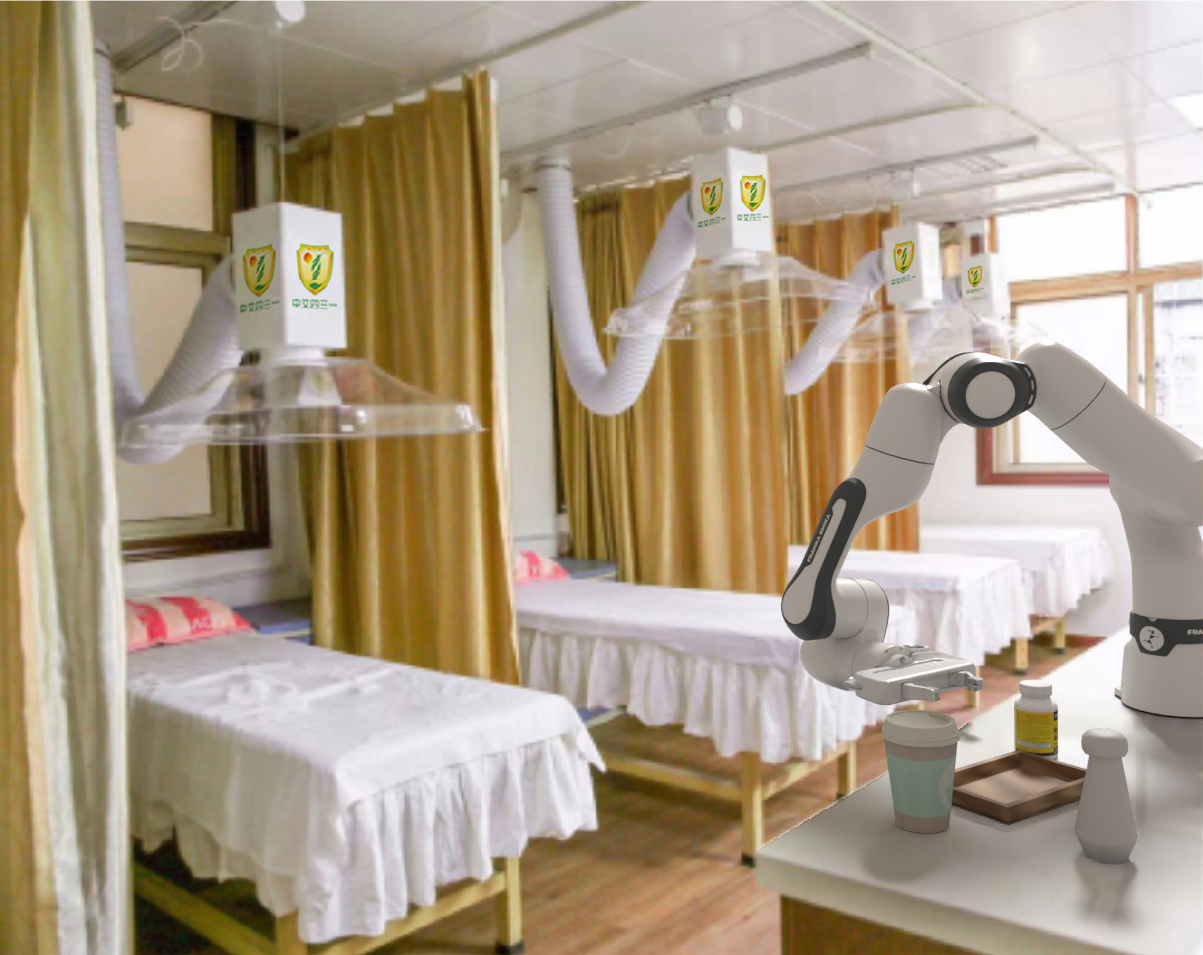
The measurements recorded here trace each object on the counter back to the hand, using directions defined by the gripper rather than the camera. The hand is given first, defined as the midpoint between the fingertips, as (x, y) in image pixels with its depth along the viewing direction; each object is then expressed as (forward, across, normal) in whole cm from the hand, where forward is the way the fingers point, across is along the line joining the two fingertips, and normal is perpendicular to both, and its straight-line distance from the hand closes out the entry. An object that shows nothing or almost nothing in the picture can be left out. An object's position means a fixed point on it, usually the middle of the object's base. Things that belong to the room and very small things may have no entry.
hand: (959, 690), depth 150 cm
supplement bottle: (+12, 0, +6) cm, 14 cm away
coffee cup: (+19, -30, +7) cm, 36 cm away
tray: (+19, -14, +6) cm, 24 cm away
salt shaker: (+36, -22, +6) cm, 43 cm away
